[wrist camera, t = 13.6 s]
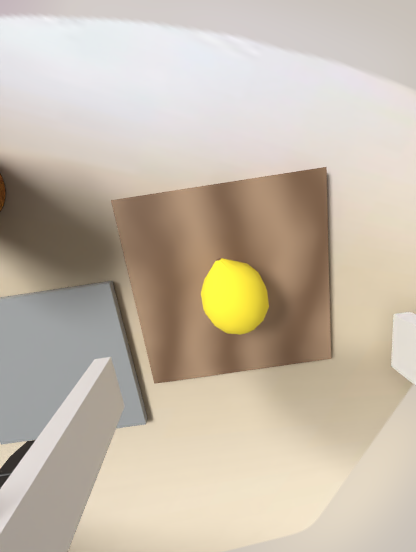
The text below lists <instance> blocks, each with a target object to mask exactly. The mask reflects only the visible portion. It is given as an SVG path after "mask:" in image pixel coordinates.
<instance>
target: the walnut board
mask: <svg viewBox="0 0 416 552" xmlns="http://www.w3.org/2000/svg"><path fill="white" fill-rule="evenodd" d="M111 203H112V207H113V211H114V215H115V219H116V224H117V228H118V232H119V236H120V240H121V245H122V249H123V253H124V257H125V261H126V266H127V270H128V274H129V278H130V283H131V287H132V291H133V295H134V299H135V304H136V308H137V312H138V316H139V320H140V325H141V329H142V333H143V337H144V341H145V346H146V350H147V354H148V358H149V362H150V367H151V371H152V375H153V379H154V383H162V382H169V381H176V380H183V379H190V378H197V377H204V376H211V375H218V374H225V373H232V372H239V371H246V370H253V369H260V368H267V367H274V366H281V365H288V364H295V363H302V362H310V361H317V360H324V359H331V335H330V293H329V252H328V211H327V170H326V167H323V168H317V169H310V170H304V171H297V172H291V173H285V174H278V175H272V176H265V177H259V178H252V179H246V180H240V181H233V182H227V183H220V184H214V185H207V186H201V187H194V188H188V189H182V190H175V191H169V192H162V193H156V194H149V195H143V196H136V197H130V198H124V199H117V200H111ZM219 258H222V259H228V260H233V261H238V262H242V263H247V264H248V265H250V266H251V267H252V268H253V269H255V270H256V271H257V272H258V273H259V274H260V276H261V278H262V280H263V282H264V284H265V286H266V289H267V293H268V302H269V308H268V311H267V313H266V315H265V318H264V320H263V321H262V322H261V323H260V324H259V325H258V326H257V327H256V328H255V329H254V330H252V331H250V332H248V333H245V334H240V335H239V334H228V333H225V332H224V331H222V330H221V329H219V328H217V327H216V326H214V324H213V323H212V322H211V320H210V319H209V318H208V316H207V315H206V314H205V311H204V309H203V304H202V298H201V290H202V286H203V282H204V279H205V277H206V276H207V274H208V273H209V271H210V269H211V268H212V266H213V264H214V263H215V261H216V260H217V259H219Z"/></svg>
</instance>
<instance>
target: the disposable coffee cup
mask: <svg viewBox="0 0 416 552" xmlns="http://www.w3.org/2000/svg"><path fill="white" fill-rule="evenodd" d="M4 201H5V185H4V182H3V179H2V176H1V174H0V211H1V210H2V208H3V206H4Z"/></svg>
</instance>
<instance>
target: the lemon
mask: <svg viewBox="0 0 416 552" xmlns="http://www.w3.org/2000/svg"><path fill="white" fill-rule="evenodd" d="M201 298H202V304H203V309H204V311H205V314H206V315H207V316H208V318H209V319H210V320H211V322H212V323H213V324H214V326H216V327H217V328H219V329H221V330H222V331H224V332H225V333H228V334H239V335H240V334H245V333H248V332H250V331H252V330H254V329H255V328H256V327H257V326H258V325H259V324H260V323H261V322H262V321H263V320H264V318H265V315H266V313H267V311H268V308H269V302H268V293H267V289H266V286H265V284H264V282H263V280H262V278H261V276H260V274H259V273H258V272H257V271H256V270H255V269H253V268H252V267H251V266H250V265H248V264H247V263H242V262H238V261H233V260H228V259H222V258H219V259H217V260H216V261H215V263H214V264H213V266H212V268H211V269H210V271H209V273H208V274H207V276H206V277H205V279H204V282H203V286H202V290H201Z"/></svg>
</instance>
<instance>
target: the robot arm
mask: <svg viewBox="0 0 416 552" xmlns="http://www.w3.org/2000/svg"><path fill="white" fill-rule="evenodd" d="M391 367H393V368H394V369H395V370H396V371H398V372H399V373H400V374H401V375H403V376H404V377H405V378H406V379H408V380H409V381H410V382H411V383H413V384H414V385H415V386H416V314H414V313H412V312H405V313H399V314H394V315H393V338H392V361H391ZM124 407H125V406H124V402H123V398H122V395H121V391H120V388H119V384H118V381H117V377H116V373H115V370H114V366H113V363H112V359H111V357H106V358H99V359H94V361H93V362H92V363H91V365H90V366H89V367H88V369H87V370H86V372H85V373H84V374H83V376H82V377H81V378H80V380H79V381H78V383H77V384H76V385H75V387H74V388H73V389H72V391H71V392H70V394H69V395H68V396H67V398H66V399H65V401H64V402H63V403H62V405H61V406H60V407H59V409H58V410H57V412H56V413H55V414H54V416H53V417H52V418H51V420H50V421H49V423H48V424H47V425H46V427H45V428H44V429H43V431H42V432H41V434H40V435H39V436H38V438H37V439H36V440H32V441H27V442H26V443H25V444H24V445H23V446H22V447H20V448H19V449H18V450H17V451H16V452H15V453H14V454H13V455H11V456H10V457H9V459H8V460H7V461H6V463H5V464H4V465H3V466H2V468H1V469H0V552H68V549H69V547H70V544H71V542H72V539H73V537H74V534H75V532H76V529H77V527H78V524H79V521H80V519H81V516H82V514H83V511H84V509H85V506H86V504H87V501H88V498H89V496H90V493H91V491H92V488H93V486H94V483H95V481H96V478H97V476H98V473H99V470H100V468H101V465H102V463H103V460H104V458H105V455H106V453H107V450H108V447H109V445H110V442H111V440H112V437H113V435H114V432H115V430H116V427H117V425H118V422H119V419H120V417H121V414H122V412H123V409H124Z"/></svg>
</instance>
